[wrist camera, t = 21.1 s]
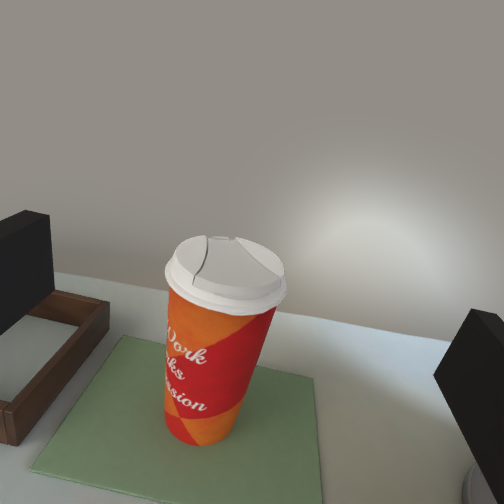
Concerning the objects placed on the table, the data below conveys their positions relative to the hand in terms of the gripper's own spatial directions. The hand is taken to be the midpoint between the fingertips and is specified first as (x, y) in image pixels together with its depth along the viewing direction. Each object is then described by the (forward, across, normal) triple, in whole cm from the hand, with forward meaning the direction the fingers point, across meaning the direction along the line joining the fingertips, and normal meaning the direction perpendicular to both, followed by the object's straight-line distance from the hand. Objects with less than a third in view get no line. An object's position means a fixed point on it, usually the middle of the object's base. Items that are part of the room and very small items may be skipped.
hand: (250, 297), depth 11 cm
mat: (+11, -2, -20) cm, 22 cm away
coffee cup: (+11, -2, -20) cm, 22 cm away
